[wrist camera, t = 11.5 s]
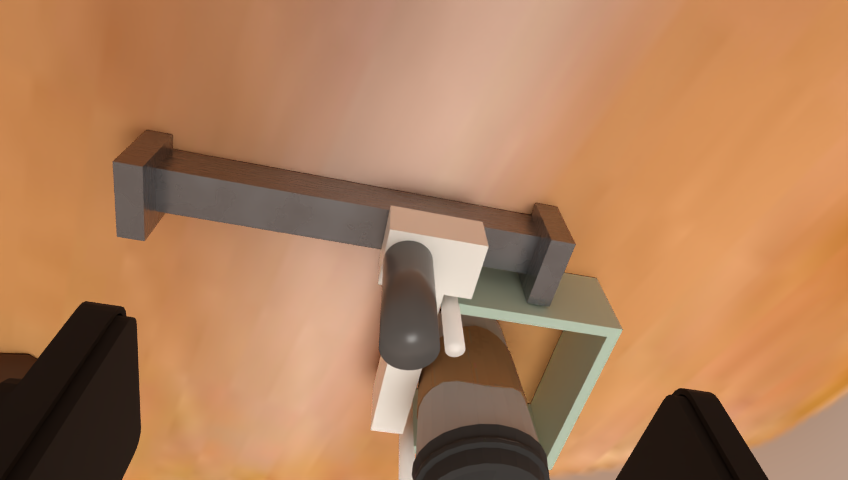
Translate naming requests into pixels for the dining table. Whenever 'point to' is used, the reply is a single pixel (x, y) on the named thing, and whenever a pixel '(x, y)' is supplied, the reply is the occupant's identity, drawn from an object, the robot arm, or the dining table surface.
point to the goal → (571, 360)
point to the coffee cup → (475, 413)
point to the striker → (418, 300)
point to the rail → (319, 208)
